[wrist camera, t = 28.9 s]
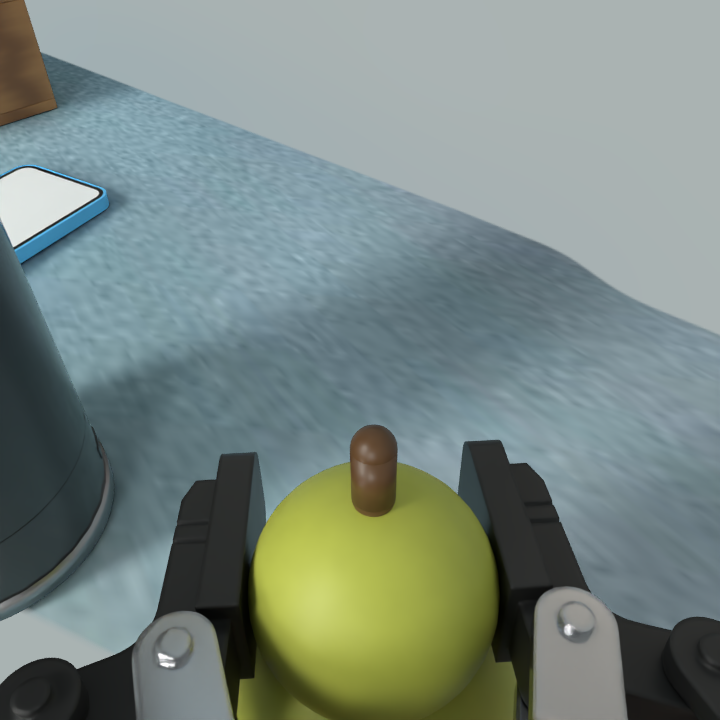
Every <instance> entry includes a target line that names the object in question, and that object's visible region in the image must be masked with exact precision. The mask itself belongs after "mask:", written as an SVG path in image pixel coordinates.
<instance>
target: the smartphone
mask: <svg viewBox="0 0 720 720" xmlns="http://www.w3.org/2000/svg"><path fill="white" fill-rule="evenodd" d="M108 206H109V201H108V198H107V194H106V190H105V189H104V188H102V187H99V186H96V185H93V184H91V183H88V182H85V181H82V180H79V179H76V178H73V177H70V176H67V175H64V174H61V173H58V172H55V171H52V170H49V169H46V168H43V167H40V166H37V165H22V166H18V167H15V168H13V169H11V170H9V171H7V172H5V173H3V174H1V175H0V218H1V221H2V223H3V225H4V227H5V230H6V232H7V234H8V237H9V239H10V241H11V244H12V246H13V248H14V250H15V253H16V255H17V257H18V260H19V262H20V264H21V263H22V262H24V261H25V260H27V259H28V258H30V257H32V256H33V255H35V254H36V253H38V252H40V251H41V250H43V249H44V248H46V247H47V246H49V245H51V244H52V243H54V242H55V241H57V240H58V239H60V238H62V237H63V236H65V235H66V234H68V233H69V232H71V231H73V230H74V229H76V228H77V227H79V226H80V225H82V224H84V223H85V222H87V221H88V220H90V219H92V218H93V217H95V216H96V215H98V214H99V213H101V212H103V211H104V210H106V209H107V208H108Z"/></svg>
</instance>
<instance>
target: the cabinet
mask: <svg viewBox="0 0 720 720" xmlns="http://www.w3.org/2000/svg"><path fill="white" fill-rule="evenodd" d="M55 108H57V104H56V101H55V98H54V94H53V91H52V88H51V84H50V81H49V78H48V75H47V72H46V69H45V65H44V62H43V59H42V56H41V53H40V49H39V46H38V43H37V40H36V37H35V33H34V30H33V27H32V24H31V21H30V17H29V15H28V11H27V8H26V5H25V2H24V0H0V126H2V125H5V124H8V123H11V122H14V121H17V120H21V119H24V118H27V117H30V116H33V115H36V114H40V113H43V112H46V111H49V110H52V109H55Z"/></svg>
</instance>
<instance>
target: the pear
mask: <svg viewBox="0 0 720 720" xmlns="http://www.w3.org/2000/svg"><path fill="white" fill-rule="evenodd" d="M499 604H500V589H499V576H498V570H497V565H496V560H495V556H494V554H493V551H492V548H491V545H490V542H489V539H488V537H487V535H486V533H485V531H484V529H483V527H482V525H481V524H480V522H479V520H478V519H477V517H476V516H475V514H474V513H473V512H472V510H471V509H470V507H469V506H468V505H467V504H466V503H465V502H464V501H463V500H462V498H461V497H460V496H458V495H457V494H456V493H455V492H454V491H453V490H452V489H451V488H450V487H448V486H447V485H446V484H445V483H443V482H442V481H440V480H439V479H437V478H435V477H434V476H432V475H430V474H428V473H426V472H424V471H422V470H420V469H417V468H415V467H412V466H409V465H406V464H402V463H398V462H397V442H396V439H395V437H394V435H393V434H392V433H391V432H390V431H389V430H388V429H387V428H385V427H383V426H380V425H367V426H364V427H362V428H361V429H359V430H358V431H357V432H356V433H355V435H354V436H353V438H352V440H351V444H350V462H348V463H344V464H340V465H337V466H334V467H331V468H329V469H326V470H324V471H322V472H320V473H318V474H316V475H314V476H312V477H310V478H309V479H307V480H306V481H304V482H303V483H301V484H300V485H299V486H298V487H297V488H295V489H294V490H293V491H292V492H291V493H290V494H289V495H288V496H287V497H286V498H285V499H284V500H283V501H282V502H281V503H280V504H279V505H278V507H277V508H276V509H275V511H274V512H273V514H272V515H271V516H270V518H269V520H268V521H267V523H266V524H265V526H264V528H263V530H262V532H261V534H260V536H259V539H258V542H257V545H256V547H255V550H254V553H253V556H252V560H251V565H250V571H249V578H248V606H249V616H250V622H251V626H252V629H253V633H254V637H255V640H256V643H257V650H256V664H255V677H254V678H253V679H240V686H239V697H238V707H237V717H238V720H513V707H514V691H515V686H516V682H517V680H516V677H515V673H514V669H513V665H512V662H499V663H496V662H495V658H494V654H493V650H492V646H491V643H492V640H493V637H494V633H495V630H496V626H497V622H498V614H499Z"/></svg>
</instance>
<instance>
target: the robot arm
mask: <svg viewBox="0 0 720 720" xmlns="http://www.w3.org/2000/svg"><path fill="white" fill-rule="evenodd" d="M458 496H460V497H461V498H462V500H463V501H464V502H465V503H466V504H467V505H468V506H469V507H470V509H471V510H472V512H473V513H474V514H475V516H476V517H477V519H478V520H479V522H480V524H481V525H482V527H483V529H484V531H485V533H486V535H487V537H488V539H489V542H490V545H491V548H492V551H493V554H494V556H495V560H496V565H497V570H498V576H499V589H500V604H499V614H498V622H497V626H496V630H495V633H494V637H493V640H492V643H491V646H492V650H493V654H494V658H495V662H496V663H499V662H512V665H513V669H514V673H515V677H516V680H517V682H516V686H515V691H514V707H513V720H720V621H717V620H714V619H710V618H706V617H690V618H687V619H684V620H682V621H680V622H679V623H678V624H677V625H676V626H675V627H674V629H673V630H667V629H663V628H659V627H655V626H650V625H646V624H642V623H638V622H634V621H631V620H627V619H625V618H623V617H620V616H618V615H616V614H615V613H613V612H611V610H610V609H609V608H608V607H607V605H606V604H605V603H604V602H603V601H601V600H600V599H599V598H598V597H596V596H595V595H593V594H592V593H591V591H590V590H589V588H588V586H587V584H586V582H585V580H584V577H583V575H582V573H581V570H580V568H579V565H578V563H577V560H576V558H575V555H574V553H573V551H572V548H571V546H570V543H569V541H568V538H567V536H566V534H565V531H564V529H563V526H562V524H561V522H559V517H558V514H557V512H556V509H555V507H554V505H552V499H551V497H550V495H549V492H548V490H547V487H546V485H545V482H544V480H543V479H542V478H541V477H540V476H539V475H538V474H537V473H536V472H535V471H534V470H533V469H532V468H531V467H530V466H529V465H528V464H527V463H517V464H510V463H509V461H508V458H507V455H506V452H505V450H504V447H503V444H502V442H501V441H500V440H486V441H467V442H464V445H463V452H462V461H461V470H460V479H459V488H458ZM113 497H114V478H113V472H112V469H111V465H110V462H109V460H108V458H107V455H106V453H105V451H104V449H103V446H102V444H101V442H100V441H99V439H98V438H97V436H96V433H95V431H94V429H93V427H92V426H91V425H90V423H89V420H88V418H87V416H86V414H85V411H84V409H83V407H82V405H81V402H80V400H79V398H78V395H77V393H76V391H75V388H74V386H73V384H72V381H71V379H70V377H69V375H68V372H67V370H66V368H65V365H64V363H63V361H62V358H61V356H60V354H59V352H58V349H57V347H56V345H55V342H54V340H53V338H52V335H51V333H50V331H49V329H48V326H47V324H46V322H45V319H44V317H43V315H42V313H41V310H40V308H39V306H38V303H37V301H36V299H35V296H34V294H33V292H32V290H31V287H30V285H29V283H28V280H27V278H26V276H25V273H24V271H23V269H22V267H21V264H20V262H19V260H18V257H17V255H16V253H15V250H14V248H13V246H12V244H11V241H10V239H9V237H8V234H7V232H6V230H5V227H4V225H3V223H2V221H1V218H0V621H1V620H4V619H6V618H8V617H11V616H13V615H14V614H17V613H19V612H21V611H23V610H24V609H26V608H28V607H29V606H31V605H33V604H34V603H36V602H38V601H39V600H40V599H42V598H43V597H45V596H46V595H48V594H49V593H50V592H52V591H53V590H54V589H55V588H57V587H58V586H59V585H60V584H61V583H63V582H64V581H65V580H66V579H67V578H68V577H69V576H70V575H71V574H72V573H73V572H74V571H75V570H76V569H77V568H78V567H79V566H80V564H81V563H82V562H83V561H84V560H85V558H86V557H87V556H88V555H89V553H90V552H91V550H92V549H93V547H94V546H95V544H96V543H97V541H98V539H99V538H100V536H101V534H102V532H103V530H104V528H105V526H106V523H107V521H108V518H109V515H110V512H111V508H112V503H113ZM265 524H266V512H265V500H264V493H263V487H262V480H261V473H260V466H259V460H258V455H257V452H250V453H231V454H221V456H220V460H219V466H218V471H217V477H216V480H198V481H195V483H194V484H193V486H192V487H191V488H190V490H189V491H188V492H187V494H186V495H185V496H184V498H183V499H182V501H181V506H180V510H179V515H178V519H177V526H176V528H175V533H174V537H173V544H172V546H171V551H170V555H169V560H168V564H167V569H166V573H165V578H164V582H163V587H162V591H161V596H160V600H159V605H158V609H157V612H156V616H155V618H154V620H153V622H152V623H151V624H150V625H149V626H148V627H147V628H146V629H145V630H144V631H143V632H142V633H141V635H140V636H139V638H138V639H137V641H136V642H135V643H134V644H133V645H131V646H130V647H129V648H127V649H125V650H123V651H122V652H120V653H118V654H115V655H113V656H111V657H108V658H105V659H103V660H100V661H97V662H95V663H92V664H89V665H87V666H84V667H81V668H79V669H76V668H75V667H74V666H73V665H72V664H71V663H69V662H68V661H66V660H63V659H59V658H44V659H39V660H36V661H33V662H31V663H28V664H26V665H24V666H22V667H21V668H19V669H18V670H16V671H15V672H13V673H12V674H11V675H10V676H8V677H7V678H6V679H5V680H4V681H3V682H2V683H1V685H0V720H238V717H237V707H238V697H239V686H240V679H253V678H254V677H255V664H256V650H257V643H256V640H255V637H254V633H253V629H252V626H251V622H250V616H249V606H248V578H249V571H250V565H251V560H252V556H253V553H254V550H255V547H256V545H257V542H258V539H259V536H260V534H261V532H262V530H263V528H264V526H265Z"/></svg>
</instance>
